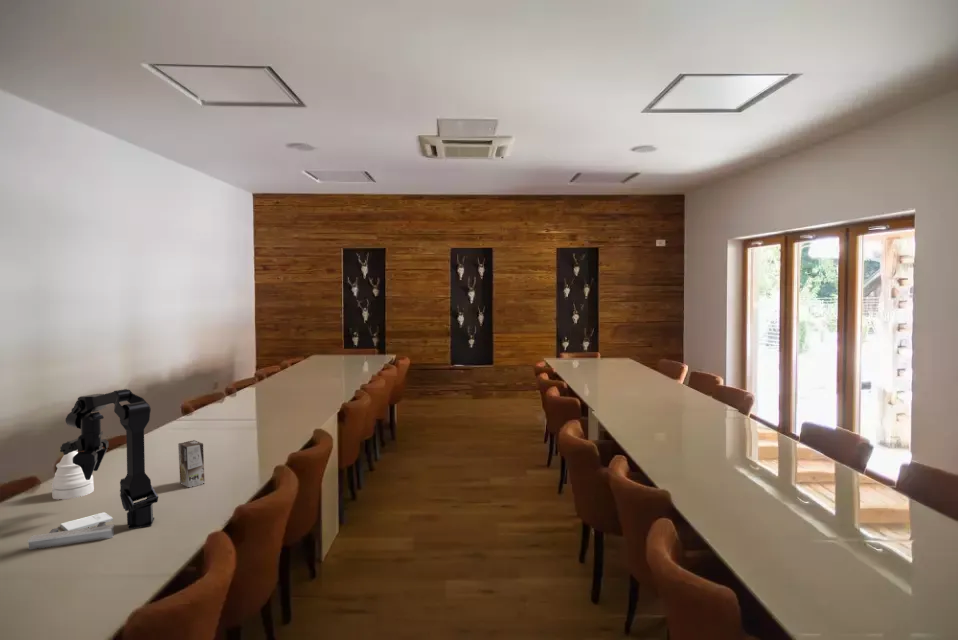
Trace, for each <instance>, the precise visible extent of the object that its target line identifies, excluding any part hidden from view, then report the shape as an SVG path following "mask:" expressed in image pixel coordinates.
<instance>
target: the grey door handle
mask: <svg viewBox="0 0 958 640" xmlns="http://www.w3.org/2000/svg"><path fill="white" fill-rule="evenodd" d="M114 528H115V524H114V523H113V524H107V525H106V523H105V522H100V523H99V524H98V525H96V526H92V527H89V528H83V529H76V530H69V531H65V530H63V531H62V530H61V531H59V527H58V528H55V527H54V528H52V529H51V530H50V531H49V532H48V533H41V534H34V535H31V536H30V537H29V538H28V539H27V543H28V550H29V551H31V550H37V548H39V549H45V547H46V548H51V546H52V547H58V546H65V545H73V544H80V543H85V542H86V543H87V542H93V541H100V540H107V539H112V538H113V537H114V536H115V529H114Z"/></svg>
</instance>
